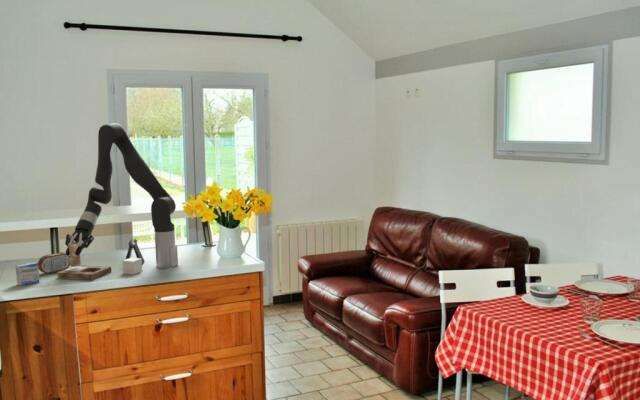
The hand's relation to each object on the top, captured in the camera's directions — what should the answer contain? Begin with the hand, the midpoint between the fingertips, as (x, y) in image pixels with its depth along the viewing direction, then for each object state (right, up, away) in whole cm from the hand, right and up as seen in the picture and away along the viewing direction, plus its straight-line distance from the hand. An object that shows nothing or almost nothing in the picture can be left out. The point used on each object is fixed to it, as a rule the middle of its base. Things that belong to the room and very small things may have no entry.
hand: (72, 254), depth 269 cm
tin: (-12, -9, +9) cm, 18 cm away
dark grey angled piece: (+21, -7, +21) cm, 31 cm away
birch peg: (+1, -5, +3) cm, 6 cm away
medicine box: (-15, -12, -10) cm, 21 cm away
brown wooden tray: (+5, -10, +2) cm, 11 cm away
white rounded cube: (+26, -9, +6) cm, 28 cm away
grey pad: (+1, -7, +3) cm, 8 cm away
